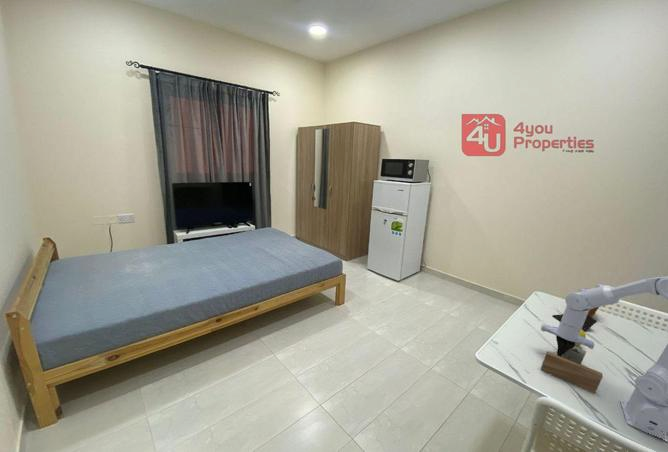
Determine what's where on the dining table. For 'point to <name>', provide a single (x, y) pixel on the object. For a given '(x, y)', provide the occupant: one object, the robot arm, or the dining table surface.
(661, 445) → the dining table surface
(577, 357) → the dice cube
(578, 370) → the brown wooden block
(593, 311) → the disposable coffee cup
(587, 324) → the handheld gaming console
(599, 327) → the dining table surface
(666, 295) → the robot arm
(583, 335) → the lemon
